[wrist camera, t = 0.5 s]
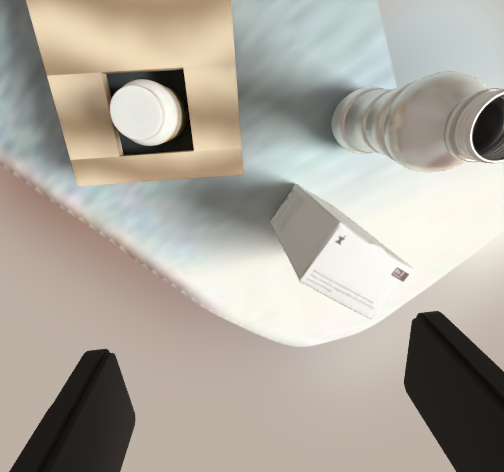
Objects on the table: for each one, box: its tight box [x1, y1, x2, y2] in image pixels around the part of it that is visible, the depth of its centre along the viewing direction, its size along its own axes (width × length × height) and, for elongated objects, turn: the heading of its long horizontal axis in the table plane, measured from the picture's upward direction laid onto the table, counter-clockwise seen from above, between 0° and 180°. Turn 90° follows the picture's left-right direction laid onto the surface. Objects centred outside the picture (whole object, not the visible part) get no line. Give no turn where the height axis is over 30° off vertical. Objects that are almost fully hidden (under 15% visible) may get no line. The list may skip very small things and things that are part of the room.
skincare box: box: [270, 184, 413, 319], centre depth 31 cm, size 8×6×15 cm
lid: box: [26, 0, 243, 186], centre depth 25 cm, size 20×16×4 cm
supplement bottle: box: [110, 79, 188, 146], centre depth 28 cm, size 5×5×10 cm
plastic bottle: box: [332, 71, 504, 173], centre depth 24 cm, size 6×7×20 cm
